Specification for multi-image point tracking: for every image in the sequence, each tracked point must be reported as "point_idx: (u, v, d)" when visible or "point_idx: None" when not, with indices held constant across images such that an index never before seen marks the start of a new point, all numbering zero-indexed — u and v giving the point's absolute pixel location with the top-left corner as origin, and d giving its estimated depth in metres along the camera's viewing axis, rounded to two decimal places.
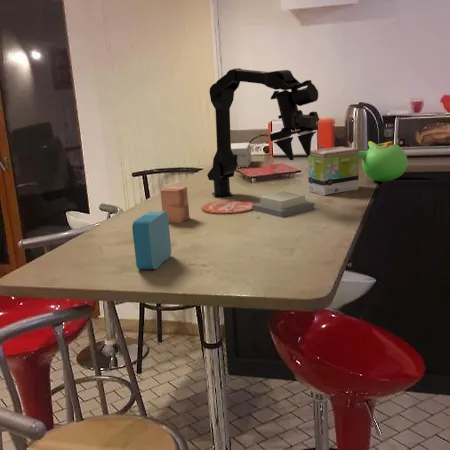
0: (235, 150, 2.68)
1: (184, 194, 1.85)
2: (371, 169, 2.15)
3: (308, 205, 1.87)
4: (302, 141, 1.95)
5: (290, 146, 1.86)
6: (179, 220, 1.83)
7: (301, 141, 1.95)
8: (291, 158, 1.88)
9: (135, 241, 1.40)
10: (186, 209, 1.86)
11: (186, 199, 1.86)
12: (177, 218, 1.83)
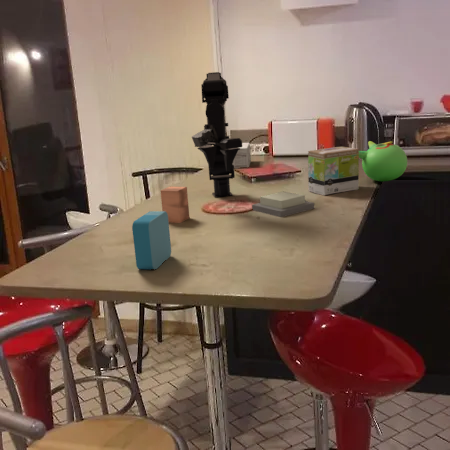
0: None
1: (184, 194, 1.85)
2: (371, 169, 2.15)
3: (308, 205, 1.87)
4: None
5: (206, 156, 1.94)
6: (179, 220, 1.83)
7: None
8: None
9: (135, 241, 1.40)
10: (186, 209, 1.86)
11: (186, 199, 1.86)
12: (177, 218, 1.83)
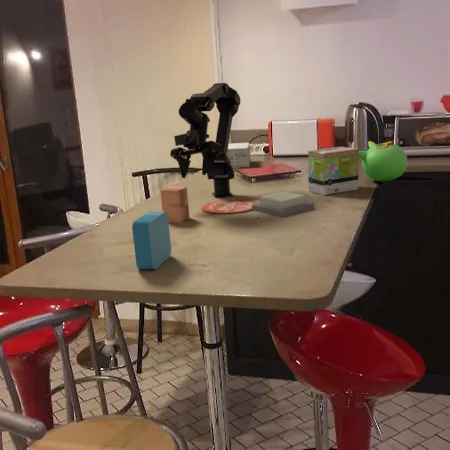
0: (236, 150, 2.68)
1: (184, 194, 1.85)
2: (371, 169, 2.15)
3: (308, 205, 1.87)
4: None
5: (180, 165, 1.95)
6: (179, 220, 1.83)
7: None
8: None
9: (135, 241, 1.40)
10: (186, 209, 1.86)
11: (186, 199, 1.86)
12: (177, 218, 1.83)
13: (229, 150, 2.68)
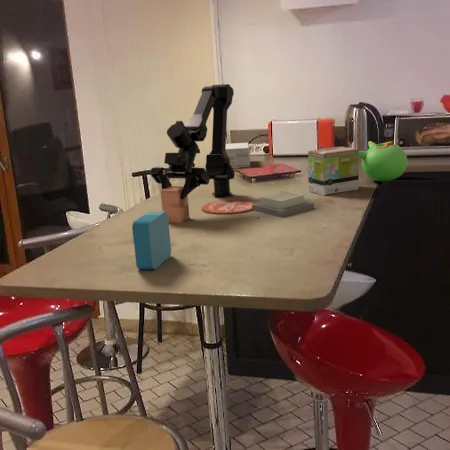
0: (238, 150, 2.68)
1: None
2: (371, 169, 2.15)
3: (308, 205, 1.87)
4: None
5: (163, 184, 1.86)
6: (179, 220, 1.83)
7: None
8: None
9: (135, 241, 1.40)
10: (186, 209, 1.86)
11: (186, 199, 1.86)
12: (177, 218, 1.83)
13: (230, 150, 2.68)
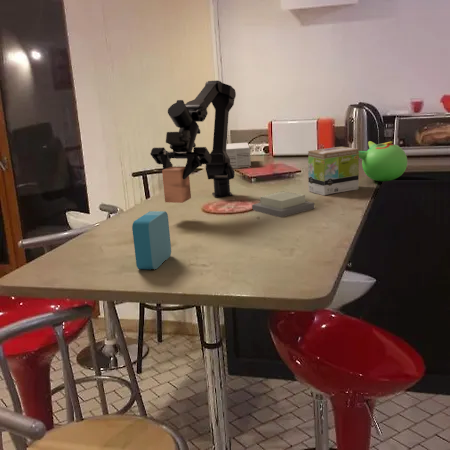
0: (238, 150, 2.68)
1: None
2: (371, 169, 2.15)
3: (308, 205, 1.87)
4: None
5: (164, 164, 1.84)
6: (181, 200, 1.81)
7: None
8: None
9: (135, 241, 1.40)
10: (188, 189, 1.84)
11: (188, 179, 1.84)
12: (179, 198, 1.81)
13: (231, 150, 2.68)
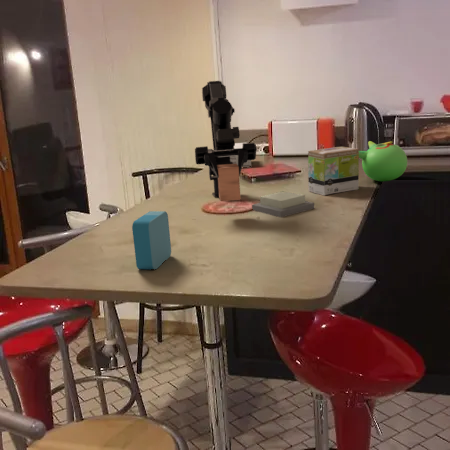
0: None
1: None
2: (371, 169, 2.15)
3: (308, 205, 1.87)
4: None
5: (214, 163, 1.80)
6: (239, 197, 1.80)
7: None
8: (216, 175, 1.80)
9: (135, 241, 1.40)
10: None
11: None
12: (236, 195, 1.80)
13: None
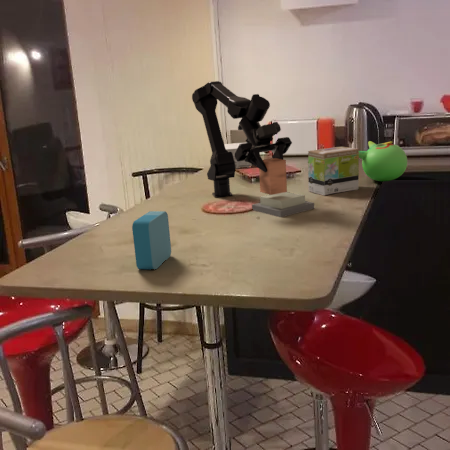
0: None
1: None
2: (371, 169, 2.15)
3: (308, 205, 1.87)
4: None
5: (260, 158, 1.83)
6: (285, 189, 1.86)
7: None
8: (264, 169, 1.83)
9: (135, 241, 1.40)
10: None
11: None
12: (284, 187, 1.85)
13: (232, 150, 2.68)
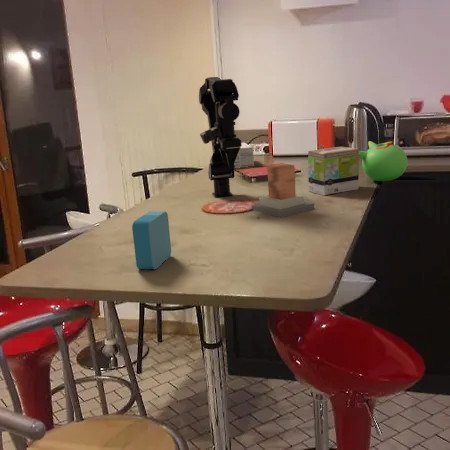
0: (242, 150, 2.68)
1: None
2: (371, 170, 2.15)
3: (308, 205, 1.87)
4: None
5: (220, 151, 2.03)
6: (294, 194, 1.88)
7: None
8: None
9: (135, 241, 1.40)
10: None
11: None
12: (292, 192, 1.88)
13: None
